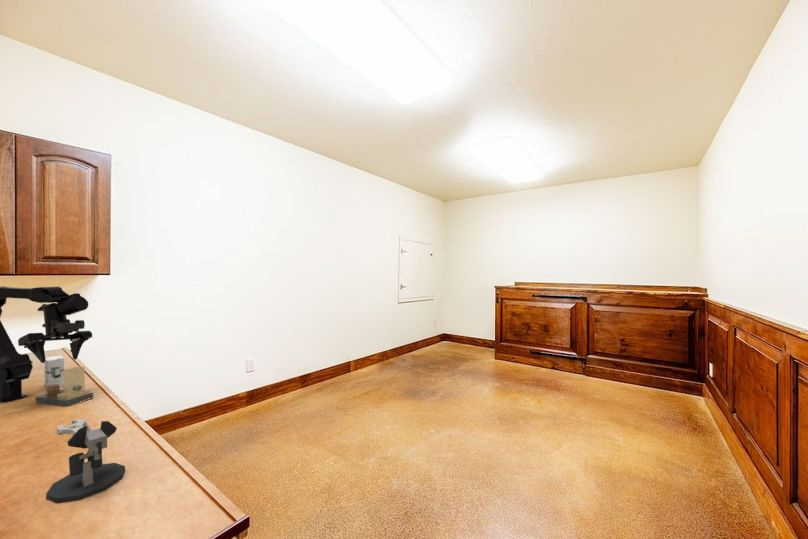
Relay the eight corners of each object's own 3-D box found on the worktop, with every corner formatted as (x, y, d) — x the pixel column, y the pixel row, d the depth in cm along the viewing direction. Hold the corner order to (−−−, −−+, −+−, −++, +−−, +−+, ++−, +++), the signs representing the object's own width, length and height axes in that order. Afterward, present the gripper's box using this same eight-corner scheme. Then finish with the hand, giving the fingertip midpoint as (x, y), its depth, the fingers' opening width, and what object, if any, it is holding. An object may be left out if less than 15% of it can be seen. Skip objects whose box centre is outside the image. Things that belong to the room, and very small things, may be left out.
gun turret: (113, 451, 87) (112, 401, 87) (132, 481, 74) (132, 422, 74) (41, 474, 77) (40, 418, 77) (49, 514, 64) (49, 446, 65)
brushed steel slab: (35, 402, 121) (35, 388, 121) (63, 394, 129) (63, 381, 129) (66, 406, 117) (66, 392, 117) (93, 398, 125) (92, 384, 125)
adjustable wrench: (104, 448, 90) (104, 441, 90) (71, 459, 85) (71, 451, 85) (83, 422, 105) (83, 417, 105) (54, 430, 100) (54, 424, 100)
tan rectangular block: (57, 399, 119) (57, 370, 119) (80, 392, 126) (80, 365, 126) (67, 400, 118) (66, 371, 118) (90, 393, 124) (90, 366, 124)
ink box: (44, 385, 140) (43, 357, 140) (61, 382, 144) (60, 354, 144) (47, 390, 134) (47, 360, 135) (64, 386, 138) (64, 357, 139)
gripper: (37, 311, 114) (41, 357, 111) (99, 312, 132) (105, 351, 129) (15, 322, 116) (19, 367, 113) (79, 321, 134) (84, 360, 131)
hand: (60, 360), depth 121 cm, fingers open, 9 cm apart
